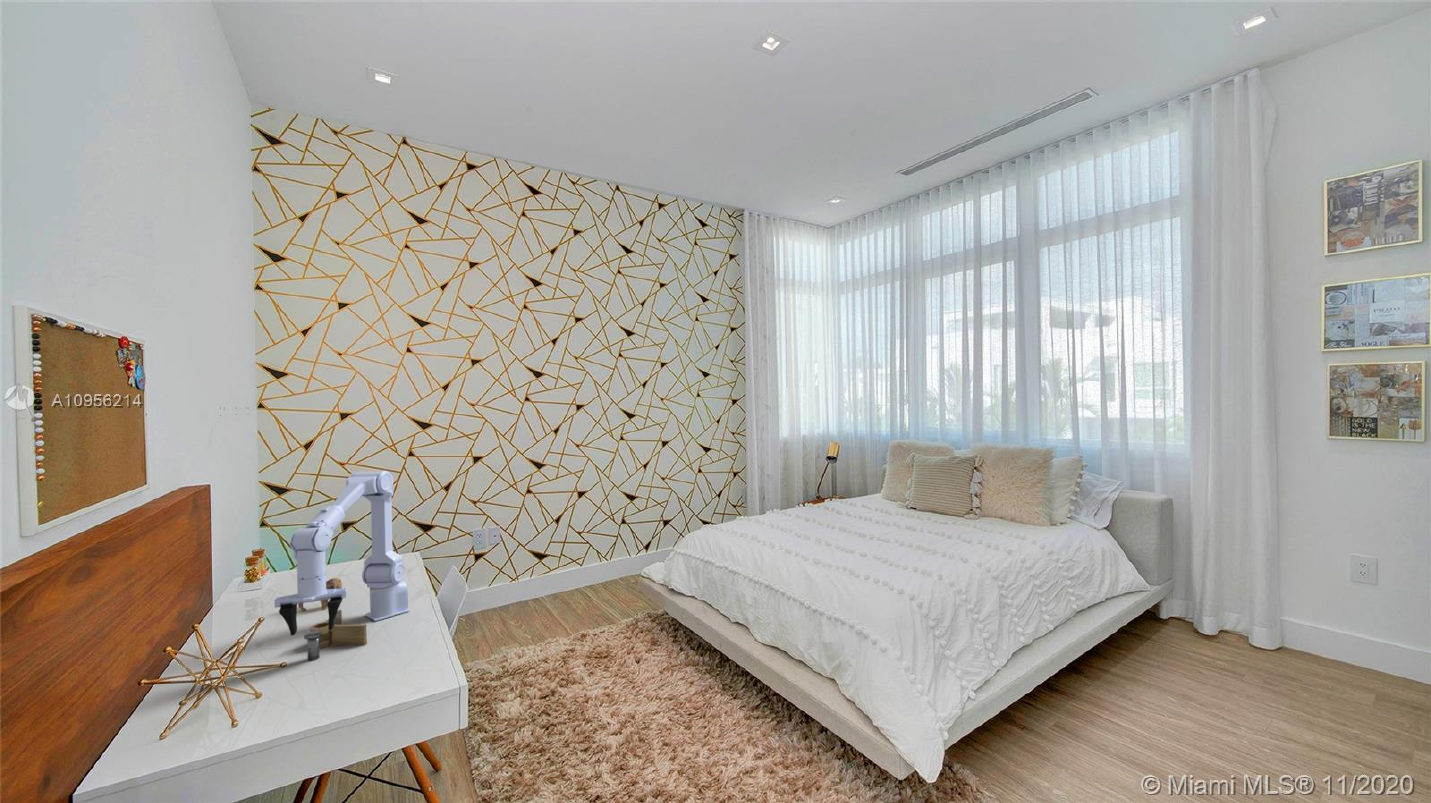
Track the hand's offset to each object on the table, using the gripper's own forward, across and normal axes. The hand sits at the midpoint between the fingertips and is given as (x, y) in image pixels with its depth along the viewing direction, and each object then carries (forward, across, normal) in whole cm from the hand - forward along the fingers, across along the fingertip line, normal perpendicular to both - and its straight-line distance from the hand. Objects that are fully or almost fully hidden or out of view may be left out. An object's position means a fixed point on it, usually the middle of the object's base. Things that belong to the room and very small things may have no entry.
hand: (312, 630), depth 134 cm
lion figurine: (+7, -8, +42) cm, 44 cm away
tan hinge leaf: (+7, +4, +7) cm, 11 cm away
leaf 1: (+7, +1, +14) cm, 15 cm away
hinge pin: (+7, 0, 0) cm, 7 cm away
